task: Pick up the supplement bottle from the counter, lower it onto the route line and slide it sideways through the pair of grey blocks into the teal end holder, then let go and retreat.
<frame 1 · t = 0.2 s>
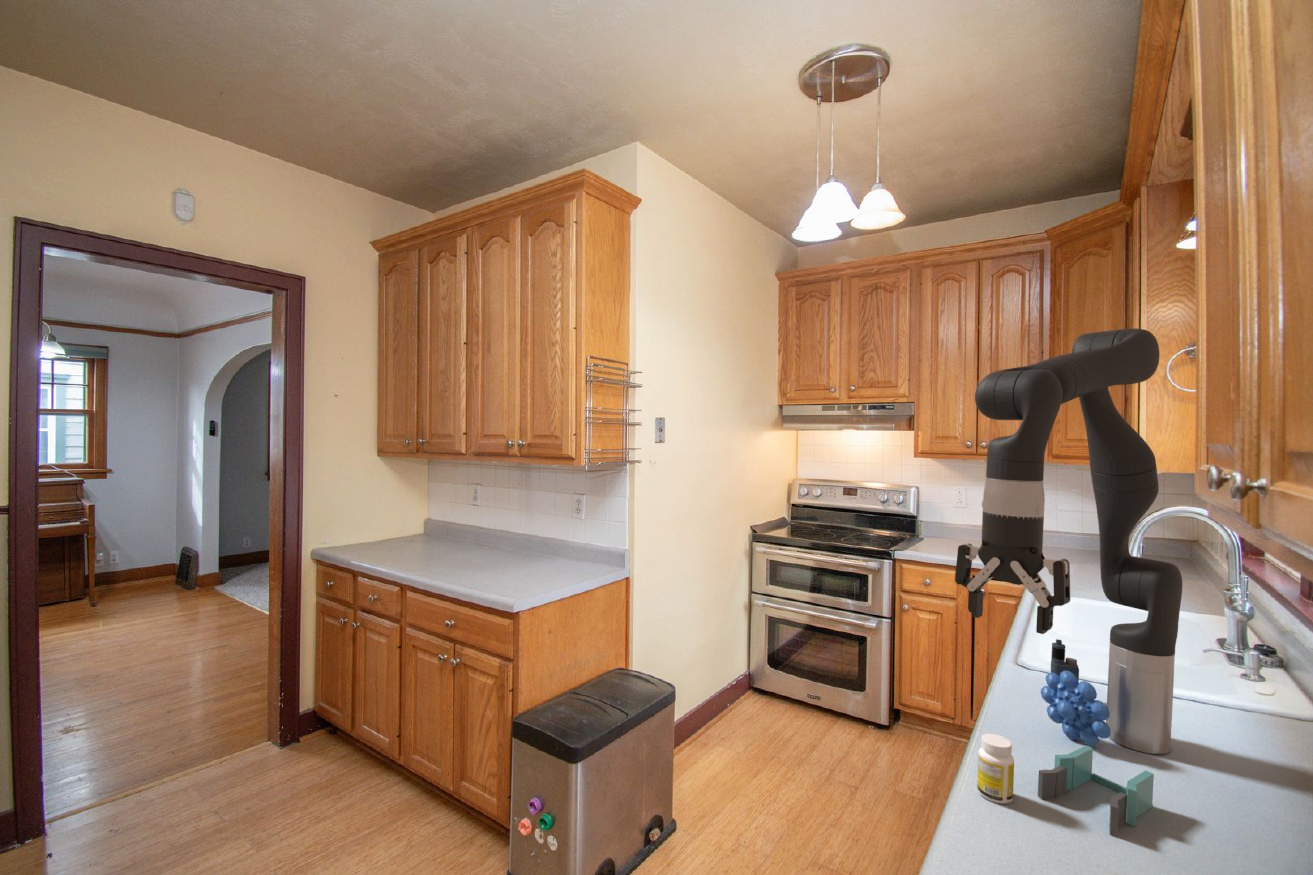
hand: (1008, 624, 86), 28 cm above the worktop, fingers open, 8 cm apart
pair of grey blocks: (1086, 808, 89), on the worktop
grapes: (1069, 741, 109), on the worktop
end holder: (1107, 796, 92), on the worktop
vaping device: (1063, 698, 127), on the worktop
supplement bottle: (994, 796, 92), on the worktop
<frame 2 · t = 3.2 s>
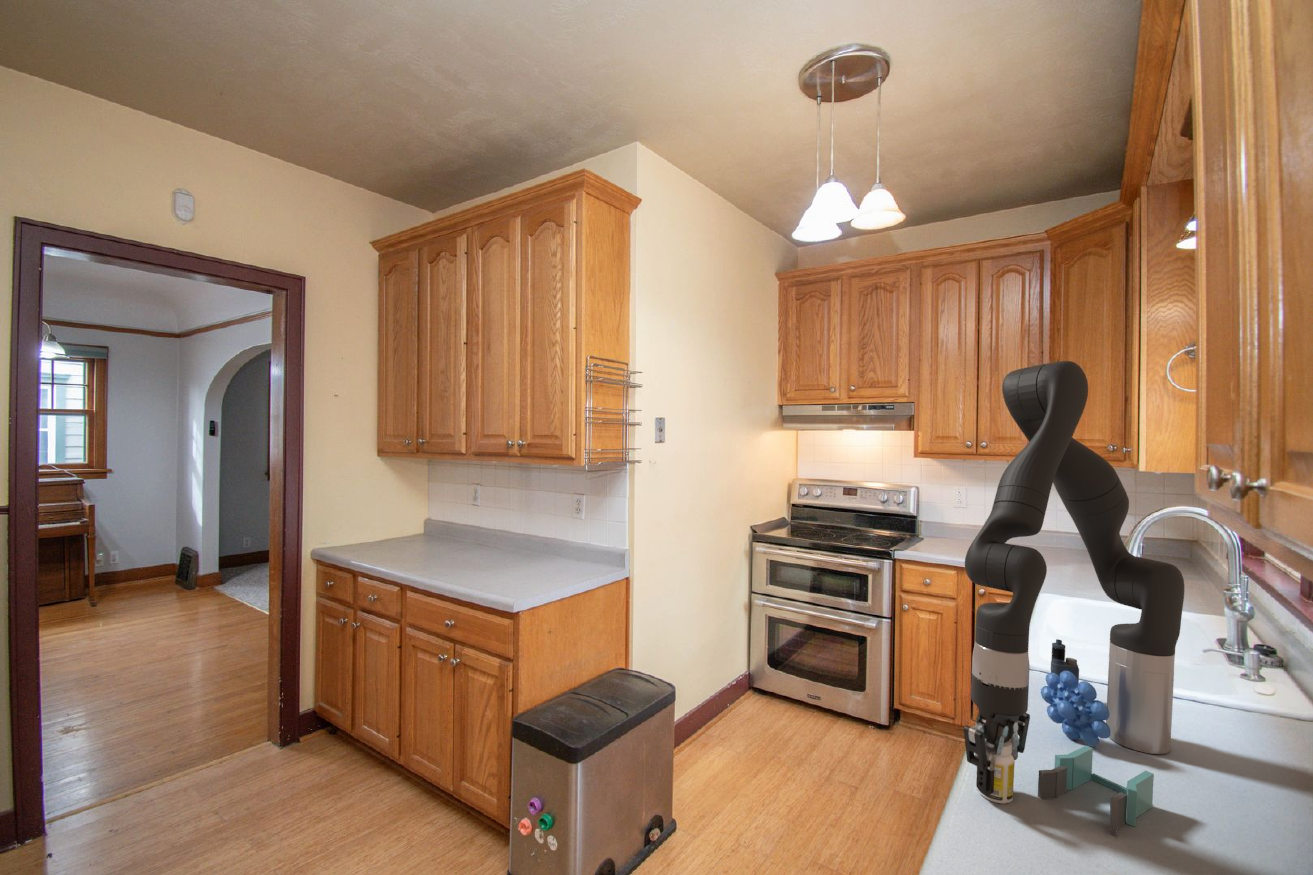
hand: (994, 785, 92), 1 cm above the worktop, fingers closed on supplement bottle, 4 cm apart
supplement bottle: (994, 796, 92), on the worktop, touching gripper
everything else where it was.
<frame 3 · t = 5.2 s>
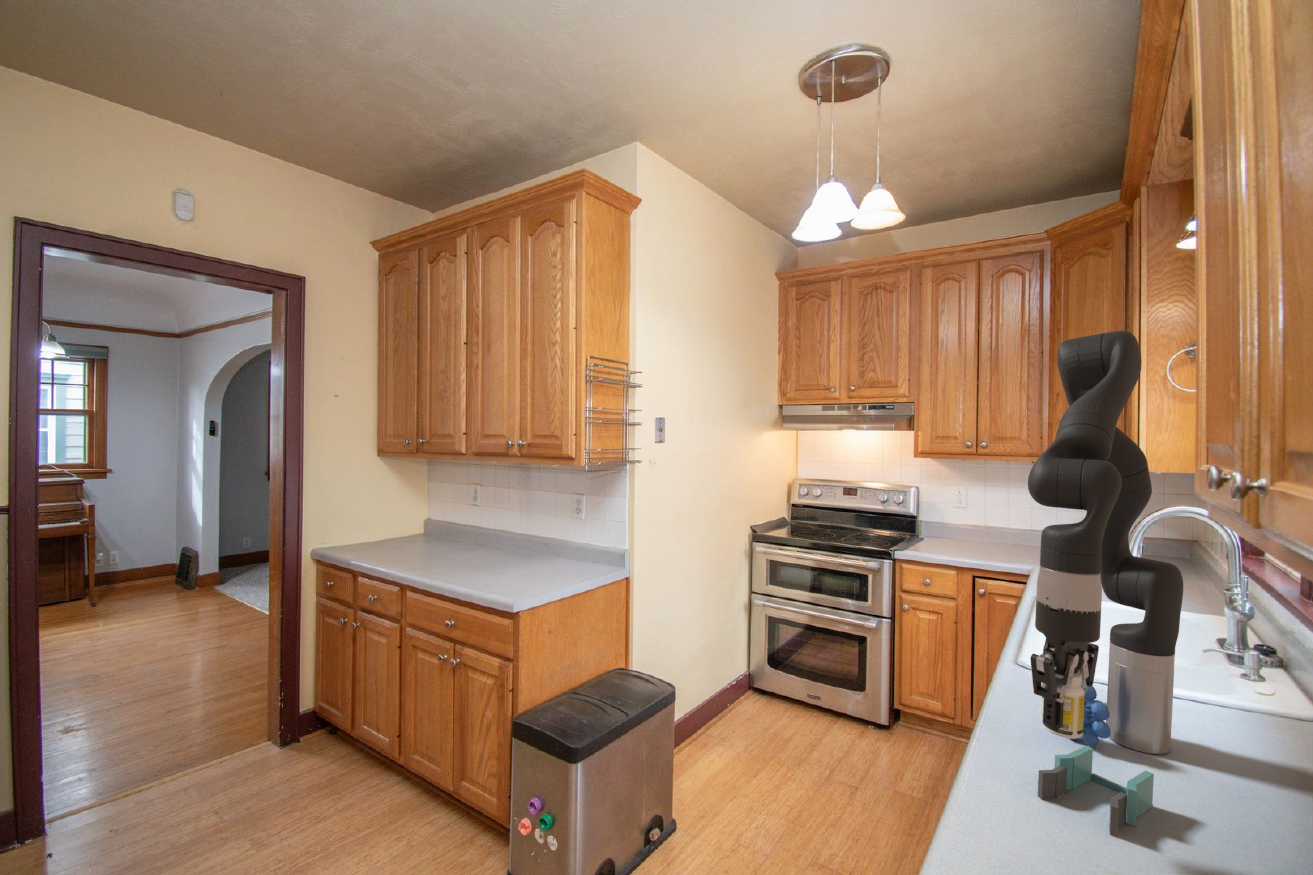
hand: (1062, 721, 85), 15 cm above the worktop, fingers closed on supplement bottle, 4 cm apart
supplement bottle: (1062, 732, 85), point 13 cm above the worktop, touching gripper
everything else where it was.
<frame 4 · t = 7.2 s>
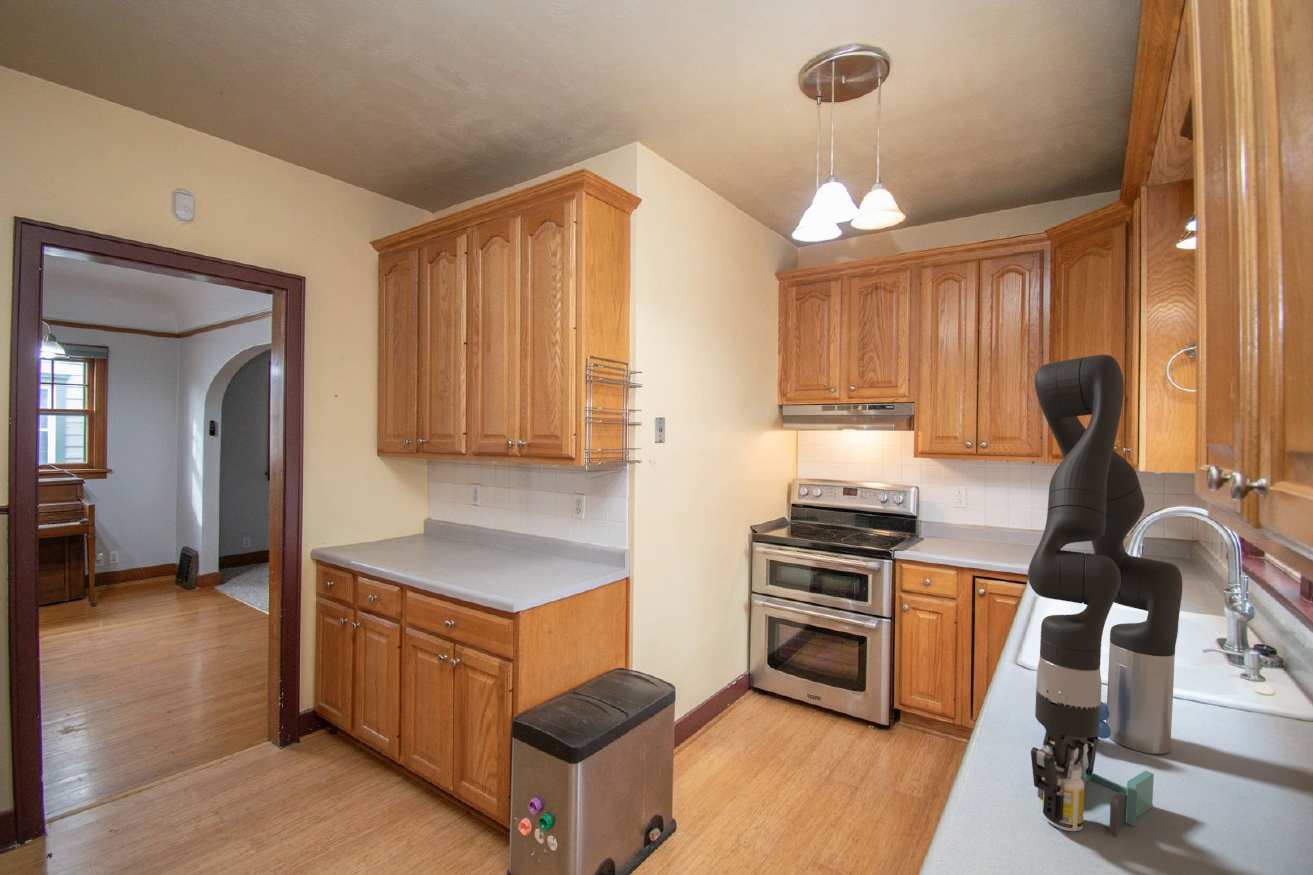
hand: (1062, 811, 85), 2 cm above the worktop, fingers closed on supplement bottle, 4 cm apart
supplement bottle: (1062, 822, 85), on the worktop, touching gripper
everything else where it was.
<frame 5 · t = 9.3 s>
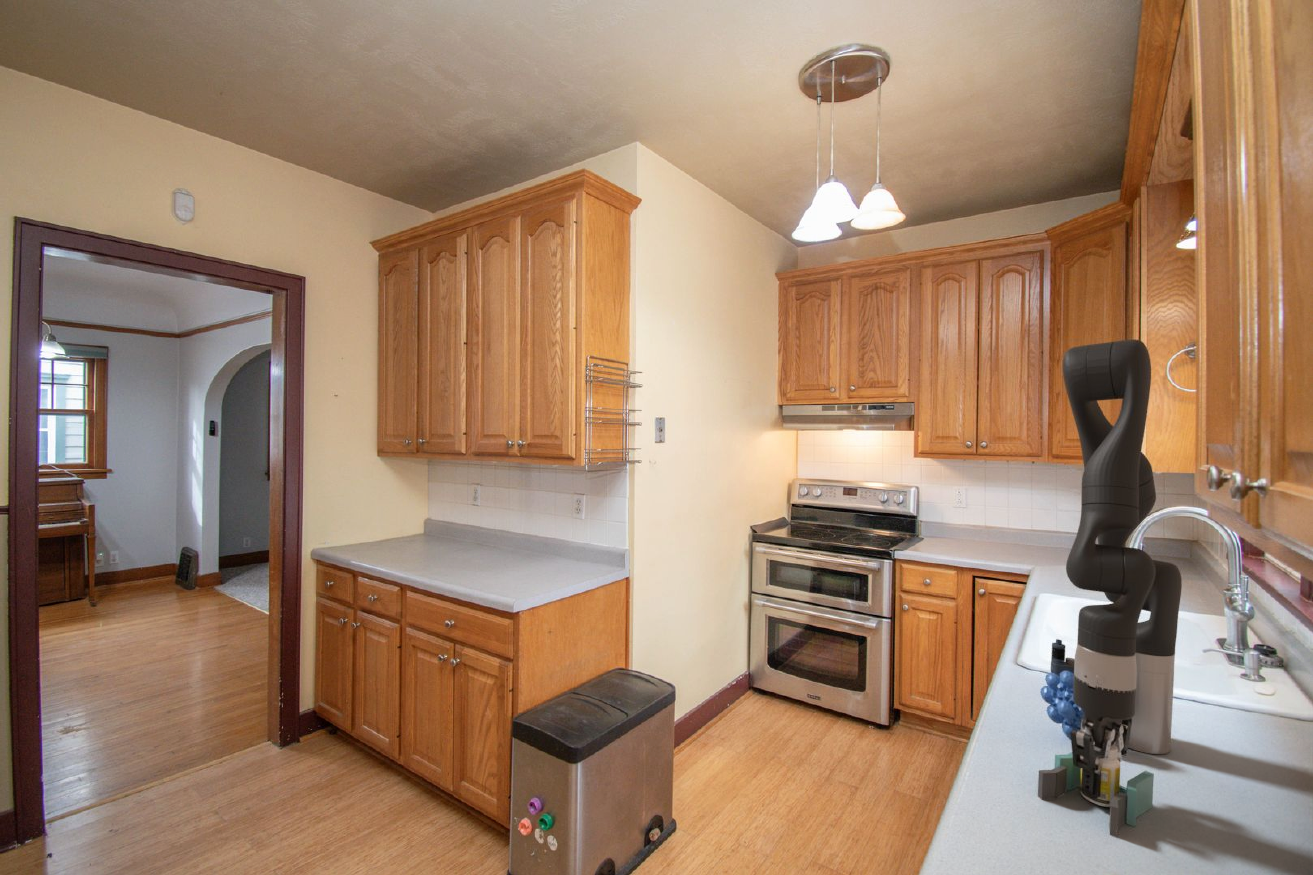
hand: (1099, 789, 91), 2 cm above the worktop, fingers closed on supplement bottle, 4 cm apart
supplement bottle: (1098, 799, 91), on the worktop, touching gripper
everything else where it was.
when the fingers open (2 cm above the worktop, at t = 11.3 s): supplement bottle stays where it is, on the worktop.
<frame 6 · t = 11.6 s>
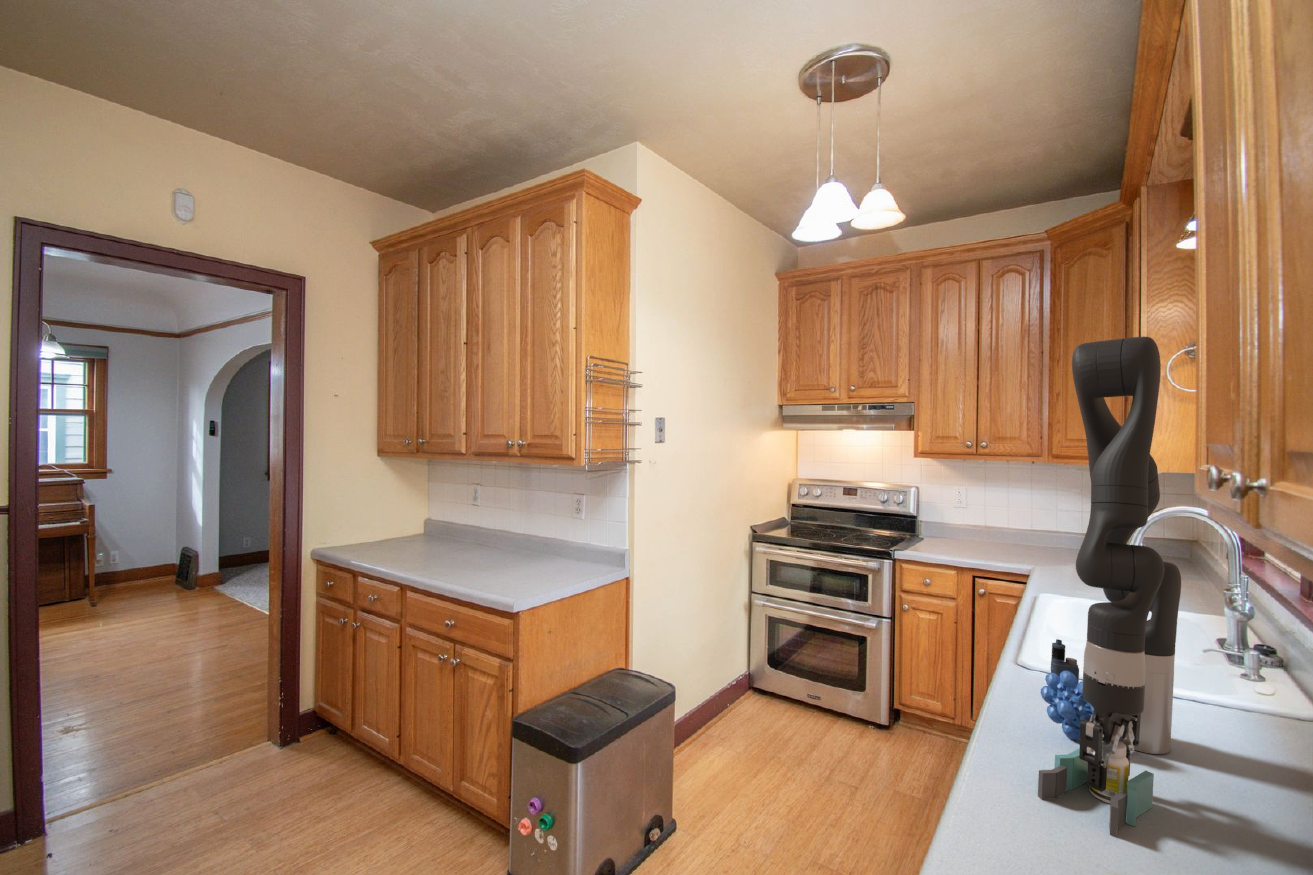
hand: (1108, 781, 92), 2 cm above the worktop, fingers open, 7 cm apart
supplement bottle: (1107, 797, 92), on the worktop
everything else where it was.
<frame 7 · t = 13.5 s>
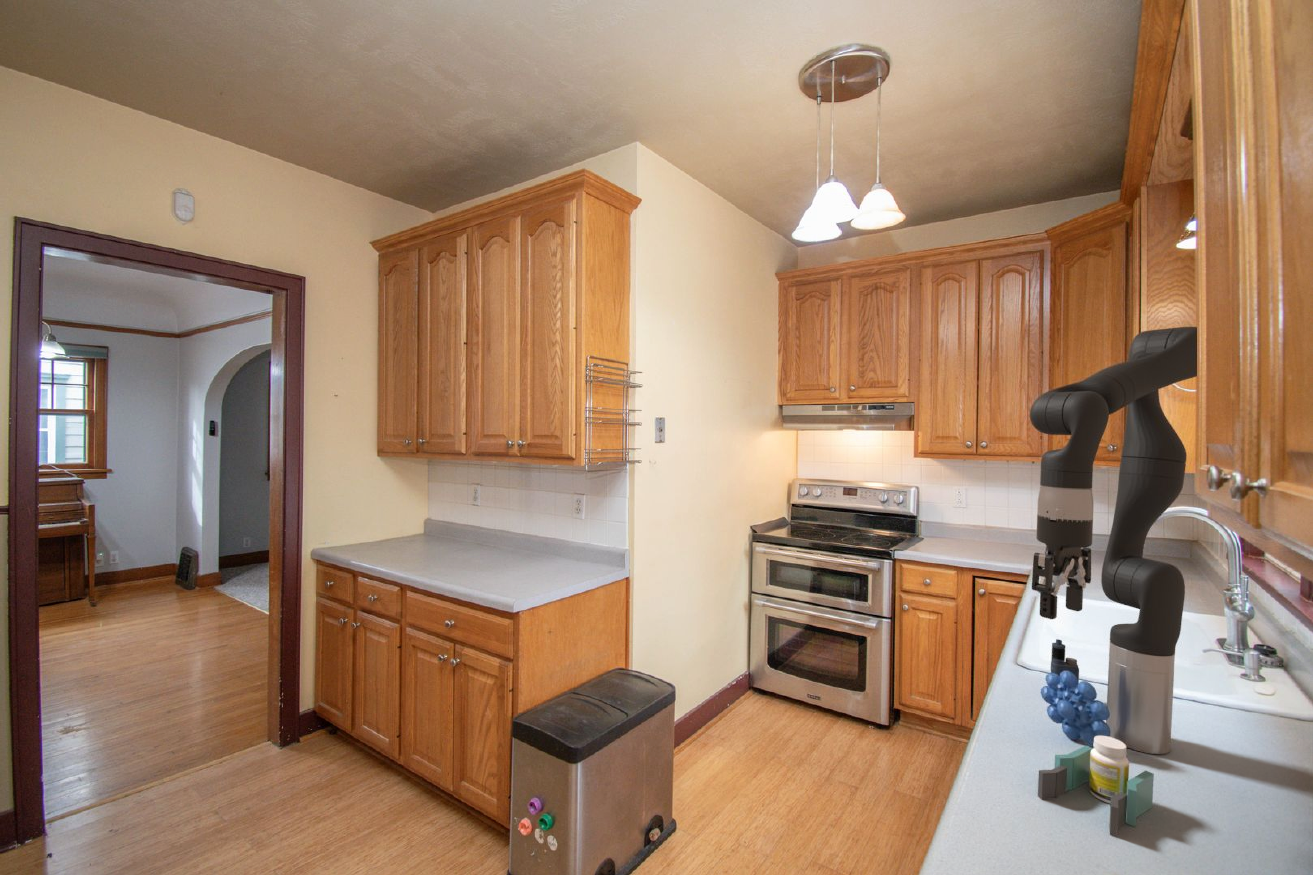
hand: (1061, 613, 98), 26 cm above the worktop, fingers open, 8 cm apart
nothing on the worktop moved.
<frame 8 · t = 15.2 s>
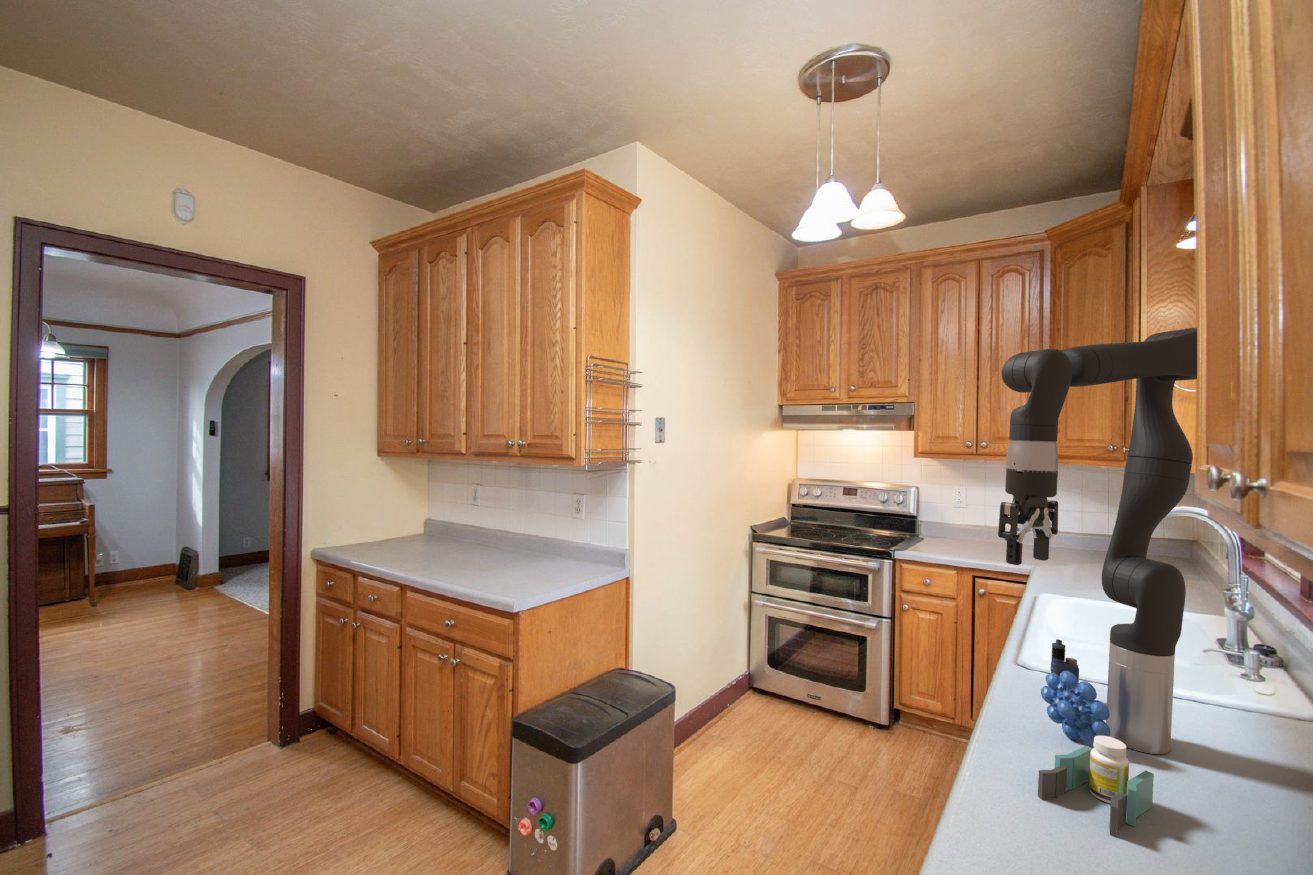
hand: (1027, 561, 103), 33 cm above the worktop, fingers open, 8 cm apart
nothing on the worktop moved.
at the end: supplement bottle 0.3 cm off-centre on the end holder, point 0.0 cm above the end holder's base; supplement bottle tilted 0°; the gripper is holding nothing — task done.
